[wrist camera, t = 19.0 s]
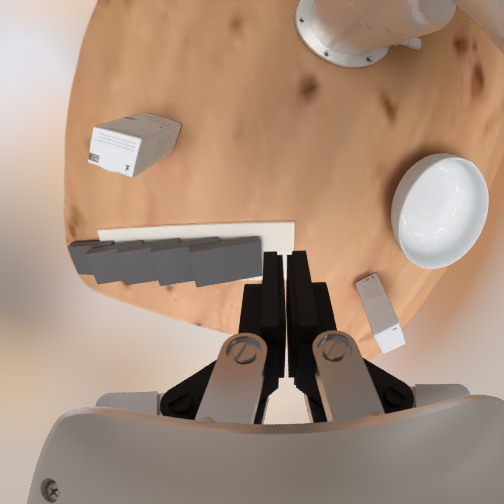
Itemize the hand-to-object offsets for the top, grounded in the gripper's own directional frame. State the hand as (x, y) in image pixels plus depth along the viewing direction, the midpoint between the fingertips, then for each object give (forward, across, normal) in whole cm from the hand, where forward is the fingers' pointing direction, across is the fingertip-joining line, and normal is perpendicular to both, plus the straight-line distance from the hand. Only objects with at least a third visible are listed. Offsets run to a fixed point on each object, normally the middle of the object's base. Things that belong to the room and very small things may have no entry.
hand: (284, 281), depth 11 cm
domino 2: (+25, +21, +15) cm, 36 cm away
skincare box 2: (+27, -16, +23) cm, 39 cm away
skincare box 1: (+27, +15, -4) cm, 31 cm away
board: (+26, +14, +15) cm, 33 cm away
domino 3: (+25, +14, +15) cm, 33 cm away
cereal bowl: (+27, -24, +6) cm, 36 cm away
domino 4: (+25, +8, +15) cm, 30 cm away
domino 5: (+25, +3, +15) cm, 29 cm away
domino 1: (+25, +27, +15) cm, 39 cm away
